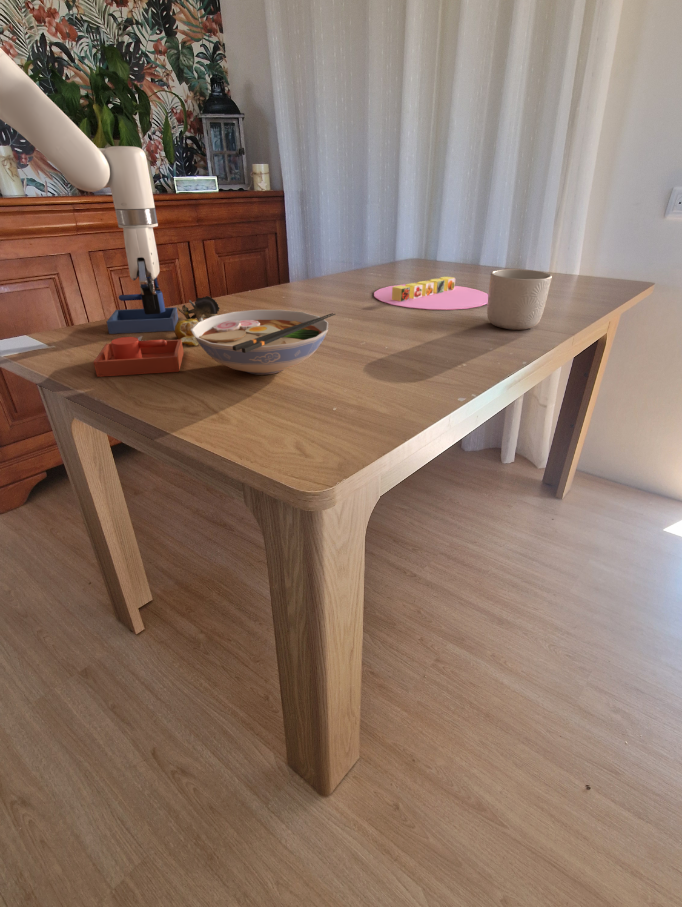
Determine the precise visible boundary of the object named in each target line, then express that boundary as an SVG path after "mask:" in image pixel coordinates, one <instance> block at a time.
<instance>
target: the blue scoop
mask: <svg viewBox="0 0 682 907" xmlns="http://www.w3.org/2000/svg"><path fill="white" fill-rule="evenodd" d="M156 294H158V300H159V305H160V311H161V312H160V313H162V312H165V308H166V306H165V300H164V295H163V292H162V291H161V290H160V291H156ZM118 300H119V301H121V302H125V301H126V302H127V301H141V303H142V305H143V302H142V297H141V293H134V294H120V295H118ZM142 309H144V307H143V306H142ZM144 313H145V312H144Z"/></svg>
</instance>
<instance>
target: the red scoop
mask: <svg viewBox="0 0 682 907" xmlns="http://www.w3.org/2000/svg"><path fill="white" fill-rule="evenodd" d="M166 340H167V339H166ZM166 340H165V339H150V340H148V339H147V340H139V338H138V337H134V336H123V337H122V336H121V337H118V338H115V339H112V340H111V342H110V343H111V344H112V348H113V352H114V357H115V360H118V359H134V358H142V354H141V349H140V348H147V347H164V346H166V345H167V342H166Z"/></svg>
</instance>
